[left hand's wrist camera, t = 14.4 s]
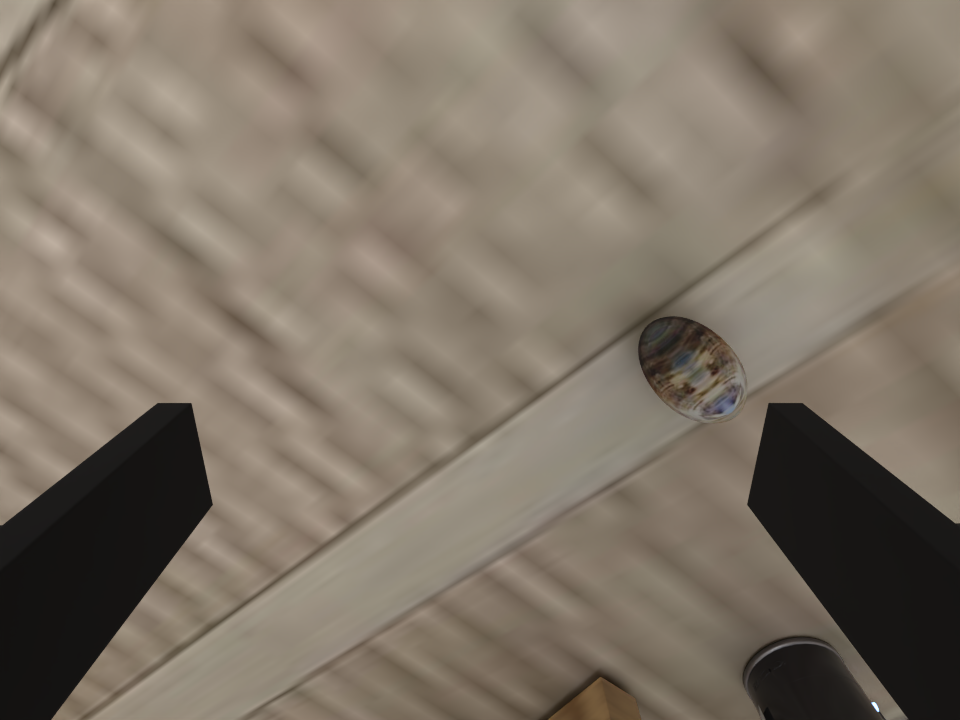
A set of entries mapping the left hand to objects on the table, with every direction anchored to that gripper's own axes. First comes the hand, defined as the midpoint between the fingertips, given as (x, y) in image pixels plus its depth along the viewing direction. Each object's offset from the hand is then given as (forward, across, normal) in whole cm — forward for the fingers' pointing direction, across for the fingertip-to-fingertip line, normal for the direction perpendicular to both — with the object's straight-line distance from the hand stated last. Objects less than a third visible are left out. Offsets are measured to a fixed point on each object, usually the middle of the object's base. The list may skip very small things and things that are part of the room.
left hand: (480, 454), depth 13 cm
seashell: (+28, +15, -8) cm, 32 cm away
